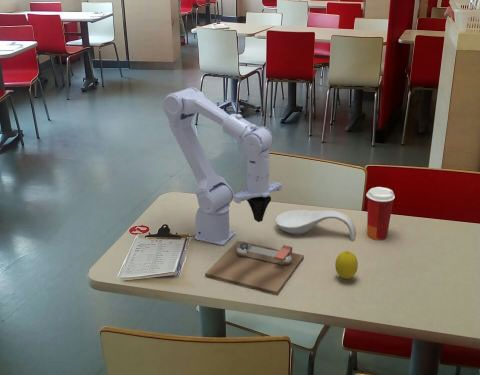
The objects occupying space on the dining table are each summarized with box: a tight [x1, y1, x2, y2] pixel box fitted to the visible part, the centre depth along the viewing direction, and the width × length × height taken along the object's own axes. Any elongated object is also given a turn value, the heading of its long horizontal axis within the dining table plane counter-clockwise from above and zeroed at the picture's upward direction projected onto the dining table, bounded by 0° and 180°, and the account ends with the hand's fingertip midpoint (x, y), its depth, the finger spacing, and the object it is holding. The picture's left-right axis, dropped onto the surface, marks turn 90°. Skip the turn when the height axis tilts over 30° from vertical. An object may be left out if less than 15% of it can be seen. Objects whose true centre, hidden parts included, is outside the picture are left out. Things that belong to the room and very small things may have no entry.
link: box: [237, 242, 292, 265], centre depth 146 cm, size 16×4×2 cm, turn 65°
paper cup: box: [366, 186, 396, 241], centre depth 156 cm, size 8×8×14 cm
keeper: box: [274, 244, 293, 261], centre depth 144 cm, size 2×7×3 cm, turn 154°
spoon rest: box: [275, 209, 357, 241], centre depth 161 cm, size 24×12×7 cm, turn 72°
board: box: [204, 240, 305, 296], centre depth 144 cm, size 20×19×1 cm
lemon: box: [334, 250, 359, 280], centre depth 137 cm, size 6×6×8 cm
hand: (258, 220), depth 149 cm, fingers closed
